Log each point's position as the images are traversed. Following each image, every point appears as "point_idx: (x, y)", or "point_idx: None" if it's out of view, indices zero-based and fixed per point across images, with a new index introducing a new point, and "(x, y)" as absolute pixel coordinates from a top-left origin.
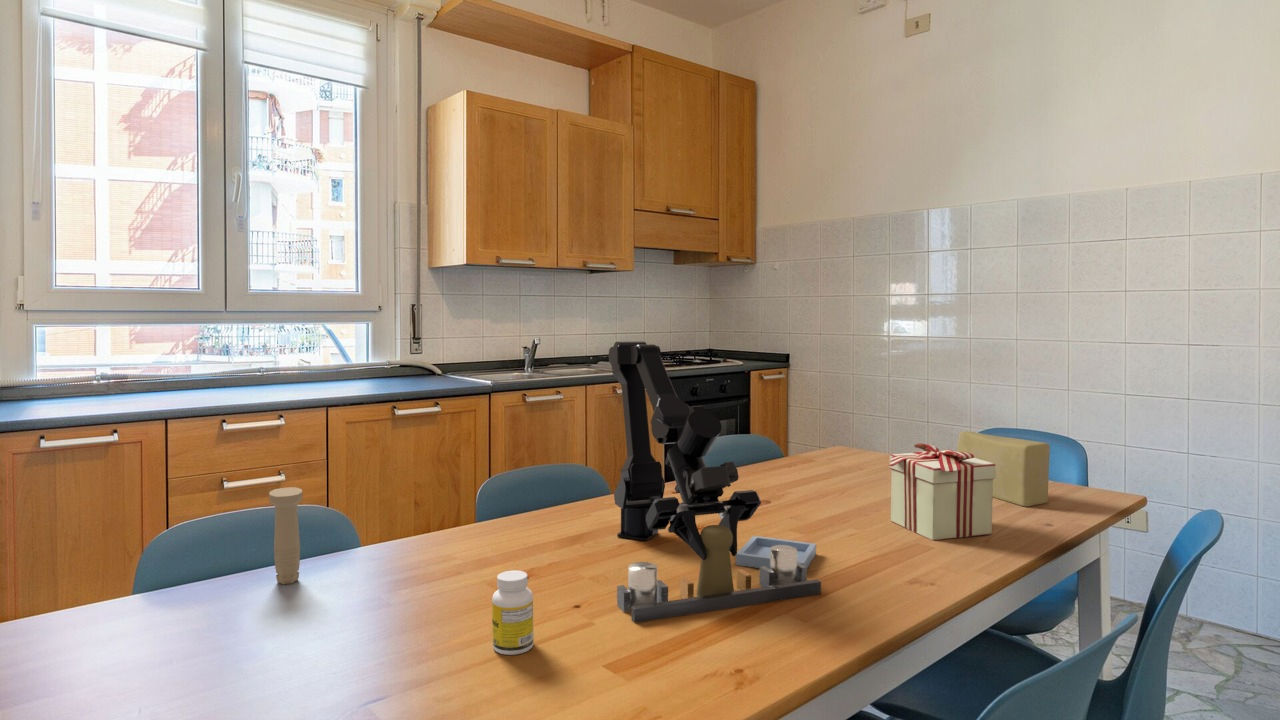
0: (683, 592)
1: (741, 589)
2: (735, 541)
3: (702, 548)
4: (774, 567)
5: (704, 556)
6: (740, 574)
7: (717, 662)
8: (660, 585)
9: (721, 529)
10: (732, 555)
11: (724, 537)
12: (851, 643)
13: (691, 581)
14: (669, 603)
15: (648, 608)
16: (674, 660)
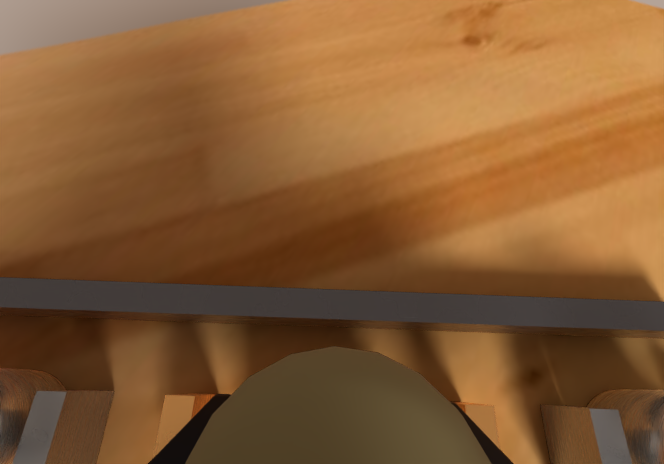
0: None
1: None
2: (174, 450)
3: (479, 441)
4: (1, 420)
5: (454, 404)
6: None
7: (500, 73)
8: (623, 438)
9: (328, 438)
10: None
11: (335, 350)
12: (195, 42)
13: None
14: (583, 305)
15: (660, 302)
16: (587, 106)
